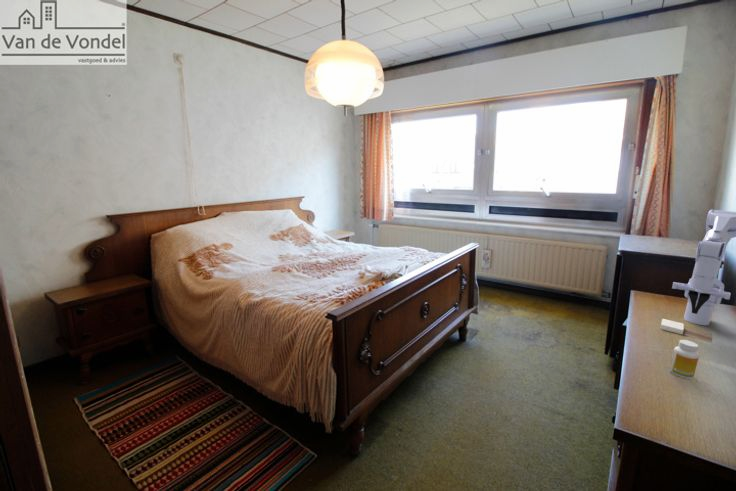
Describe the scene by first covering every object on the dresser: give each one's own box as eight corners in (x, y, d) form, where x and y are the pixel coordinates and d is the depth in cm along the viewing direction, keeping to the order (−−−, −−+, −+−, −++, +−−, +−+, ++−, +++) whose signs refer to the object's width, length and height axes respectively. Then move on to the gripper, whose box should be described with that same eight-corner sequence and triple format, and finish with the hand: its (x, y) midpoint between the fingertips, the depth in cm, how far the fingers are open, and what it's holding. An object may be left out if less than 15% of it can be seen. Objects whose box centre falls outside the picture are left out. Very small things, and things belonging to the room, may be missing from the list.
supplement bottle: (698, 380, 98) (706, 349, 96) (676, 377, 99) (684, 346, 97) (685, 369, 103) (693, 339, 101) (664, 367, 104) (672, 337, 102)
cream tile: (660, 324, 131) (662, 318, 131) (682, 329, 128) (683, 323, 127) (659, 331, 126) (661, 324, 126) (681, 336, 123) (683, 330, 122)
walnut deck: (684, 330, 128) (685, 327, 127) (710, 337, 123) (711, 334, 123) (683, 338, 122) (684, 335, 122) (711, 345, 117) (712, 342, 117)
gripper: (675, 273, 121) (666, 309, 124) (734, 283, 112) (723, 322, 115) (676, 269, 126) (668, 304, 129) (733, 278, 117) (723, 316, 120)
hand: (694, 312), depth 122 cm, fingers closed
